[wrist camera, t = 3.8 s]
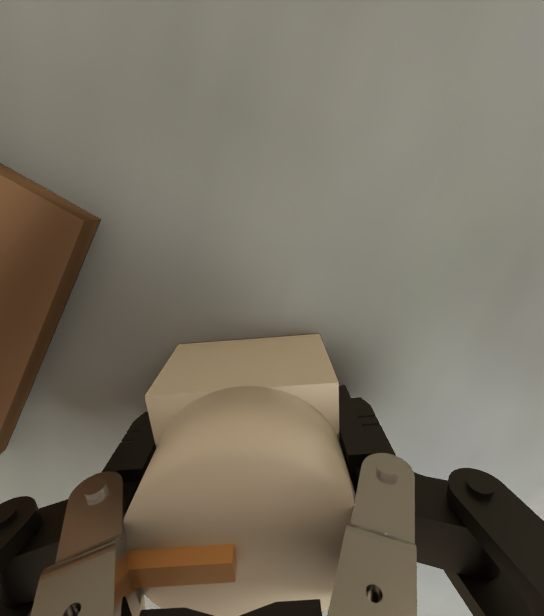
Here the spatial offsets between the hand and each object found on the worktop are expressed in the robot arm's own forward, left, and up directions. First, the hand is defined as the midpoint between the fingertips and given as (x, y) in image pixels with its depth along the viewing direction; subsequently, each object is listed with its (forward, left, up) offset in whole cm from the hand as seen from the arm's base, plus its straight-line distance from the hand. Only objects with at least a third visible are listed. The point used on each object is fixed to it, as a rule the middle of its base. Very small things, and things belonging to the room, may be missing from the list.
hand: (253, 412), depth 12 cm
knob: (0, 0, -1) cm, 1 cm away
